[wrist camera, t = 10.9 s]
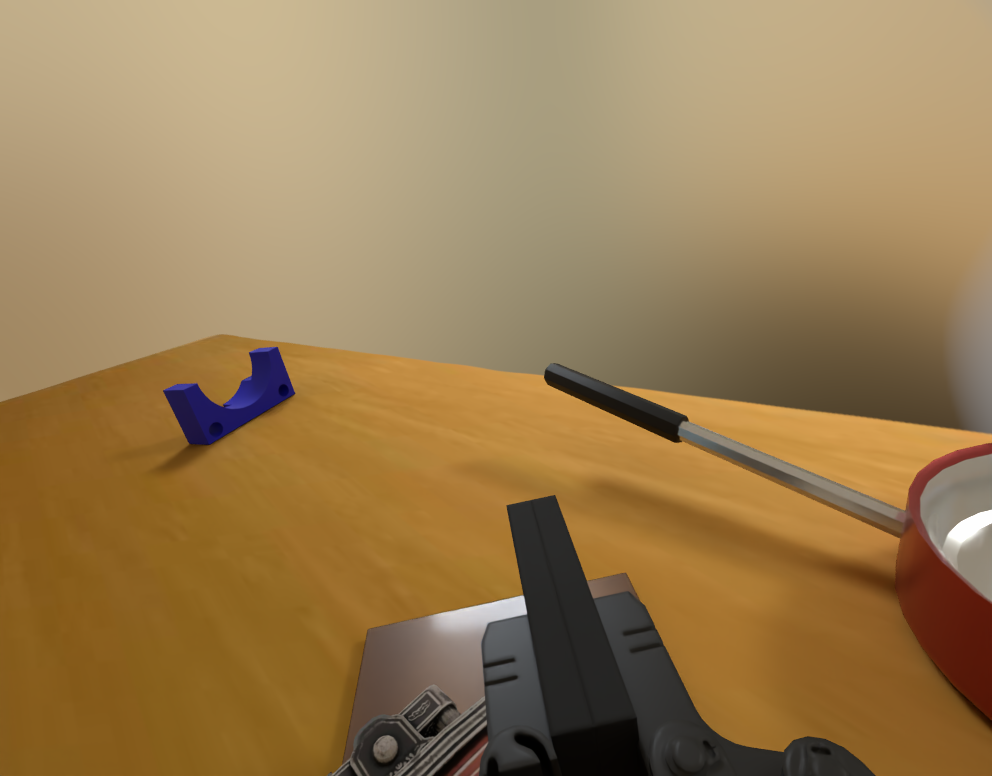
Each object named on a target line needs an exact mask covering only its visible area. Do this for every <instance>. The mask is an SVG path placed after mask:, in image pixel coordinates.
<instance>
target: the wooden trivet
mask: <svg viewBox="0 0 992 776" xmlns="http://www.w3.org/2000/svg"><path fill="white" fill-rule="evenodd" d="M587 583H588V586H589V589H590V591H591V594H592V597H593V598H598V597H602V596H607V595H612V594H616V593H621V592H625V591H629V592H630V593H631V594H632V595H634V596H635V597H636V598H637V599H638V600H639V598H638V596H637V594H636V592H635V590H634V588H633V586H632V584H631V581H630V579H629V577H628V575H627V574H626V573H621V574H617V575H612V576H608V577H603V578H599V579H594V580H590V581H587ZM639 601H640V600H639ZM526 614H527V610H526V605H525V600H524V595H521V596H517V597H512V598H508V599H503V600H498V601H494V602H489V603H485V604H480V605H476V606H471V607H467V608H462V609H457V610H453V611H448V612H444V613H439V614H435V615H430V616H426V617H421V618H416V619H412V620H407V621H403V622H398V623H394V624H389V625H385V626H380V627H375V628H371V629H368V631H367V636H366V641H365V647H364V652H363V657H362V663H361V668H360V673H359V679H358V684H357V689H356V694H355V700H354V705H353V710H352V716H351V721H350V726H349V732H348V737H347V742H346V747H345V753H344V758H343V763H342V765H343V764H344V763H345V762H346V761H348V760H349V759H350V757H351V754H352V752H353V750H354V748H353V743H354V739H355V736H356V734H357V733H358V731H359V729H360V728H361V727H363V726H364V725H365V724H366V723H367V722H368V721H369V720H370V719H372V718H373V717H376V716H378V715H384V714H385V715H390V716H392V715H395V714H399V713H400V712H401V711H402V710H403V709H404V708H405V707H406V706H407V705H408V704H410V703H411V702H412V701H413V700H414V699H415V698H416V697H417V696H418V695H419V694H420V693H422V692H423V691H424V690H425V689H426V688H428V687H429V686H431V685H433V684H434V685H437V686H438V687H439V688H440V689H441V690H442V691H443V692H444V693H445V694H446V695H447V696H448V697H449V698H450V699H451V700H452V701H453V702H454V703H455V704H456V707H457V711H458V712H459V713H460V714H463V713H464V712H465V711H466V710H468V709H469V708H470V707H471V706H472V705H474V704H475V703H476V702H477V701H479V700H480V699H481V698H482V697H484V696H485V691H484V678H483V664H482V651H481V641H482V639H483V636H484V633H485V630H486V627H487V624H488V623H489V622H493V621H498V620H503V619H507V618H512V617H516V616H521V615H526Z"/></svg>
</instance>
